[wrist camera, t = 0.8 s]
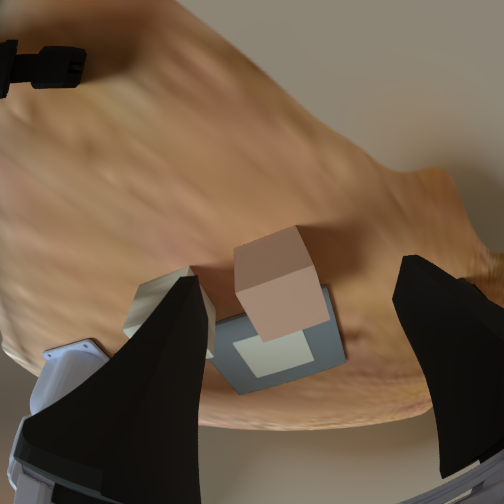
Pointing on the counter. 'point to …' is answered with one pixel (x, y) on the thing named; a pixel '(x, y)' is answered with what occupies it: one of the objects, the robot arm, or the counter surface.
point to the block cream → (152, 296)
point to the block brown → (278, 285)
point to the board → (274, 352)
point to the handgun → (40, 67)
